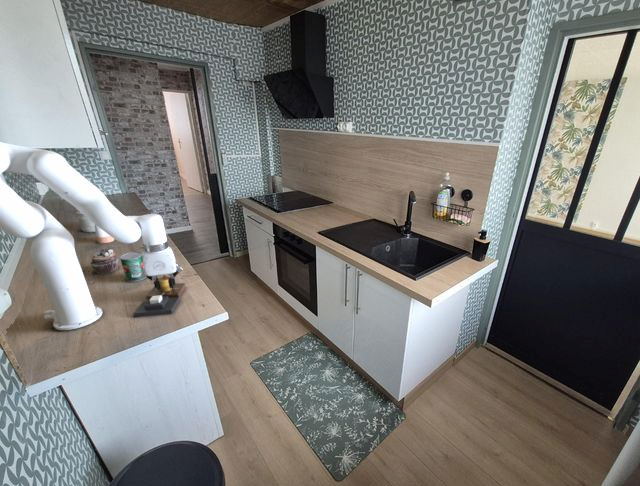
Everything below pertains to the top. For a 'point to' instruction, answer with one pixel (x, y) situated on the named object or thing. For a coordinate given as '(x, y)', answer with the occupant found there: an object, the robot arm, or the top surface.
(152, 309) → the dark gray stepped base
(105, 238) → the salt shaker
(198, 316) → the top surface
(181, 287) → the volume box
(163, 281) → the yellow rounded cylinder
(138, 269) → the canned tomato
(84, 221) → the jar
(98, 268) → the cupcake
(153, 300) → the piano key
